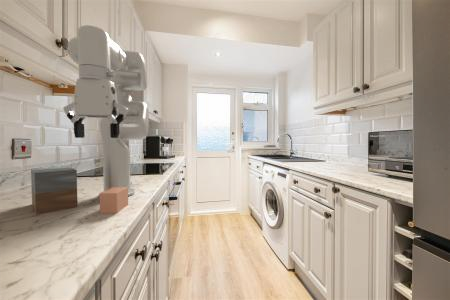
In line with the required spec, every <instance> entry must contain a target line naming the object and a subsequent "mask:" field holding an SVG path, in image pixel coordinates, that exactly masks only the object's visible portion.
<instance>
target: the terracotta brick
mask: <svg viewBox="0 0 450 300" xmlns="http://www.w3.org/2000/svg"><path fill="white" fill-rule="evenodd" d="M103 191H104V190H103ZM103 191H101V192H102V193H101V192H99V193H98V195H99V194H100V197H99V214H118V213H119V212H121V211H122V210H124V209H125V208H126V207H127V206H129V196H128V187H116V188H110V189H108V190H106V191H104V192H103Z"/></svg>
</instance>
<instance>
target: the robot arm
mask: <svg viewBox="0 0 450 300" xmlns="http://www.w3.org/2000/svg"><path fill="white" fill-rule="evenodd" d="M76 33H77V37H75V36H74V37H72V38H71V39H69V41H68V44H67V50H68V51H67V52H68V54H69V56H70V58H71V60H72V61H73V62H74V63H75V64H76V65H78V78H77V79H76V80H75V81H76V83H75V86H74V96H73V97H74V98H73V99H74V100H73V102H71V103H69V104H66V105H65V106H63V111H64V113H65V115H66V117H67V118H68V119H69V120H70V122H71V123H72V124H73V135H74V138H75V139H77V138H79V139H80V138H81V139H82V138H83V139H85V136H86V135H85V124H84V123H83V122H84V120H86V119H87V118H99V119H100V121H99V131H100V132H99V133H100V136H101V144H102V168H103V170H102V173H103V176H102V179H103V181H102V182H103V191H101V192H100V193H102V192H104V191H106V190H108V189H110V188H116V187H128V197H129V196H133V195H134V194H135V189H132V188H131V185H132V182H133V181H131V159H130V158H131V152H130V148H129V147H128V146H127V144H126V143H125V142H124V141H126V140H129V141H130V140H131V141H132V140H133V141H134V140H135V141H136V140H144V139H146V138H147V137H148V134H149V123H150V122H149V120H150V119H149V118H150V112H149V111H150V110H149V106H148V104H147V103H145V102H144V101H139V100H133V98H132V96H131V94H129V92H127V91H126V90H128V91H145V90H147V88H148V76H147V67H146V61H145V59H144V57H143V55H142V54H141V53H140V52H138V51H129V50H122V49H121V47H120V46H119V45H118V44H117V43H116V42H115V41H113V40H112V39H111V38H110V36H109V34H108V33H107V31H105V30H104V29H102V28H101V27H98V26H94V25H88V24H86V25H85V24H84V25H80V27H78V29H77V32H76ZM73 111H74V112H73ZM98 197H99V198H100V194H99V193H98Z"/></svg>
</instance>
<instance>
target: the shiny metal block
mask: <svg viewBox="0 0 450 300" xmlns="http://www.w3.org/2000/svg"><path fill="white" fill-rule="evenodd" d="M77 170H78V169H75V168H73V167H71V166H53V167H40V168H39V167H38V168H31V169H30V177H31V178H30V179H31V181H30V182H31V205H32V207H33V211H34V213H35V215H40V214H45V213H51V212H57V211H61V210H66V209H73V208H78V207H79V206H78V179H77V178H78V173H77V172H78V171H77Z"/></svg>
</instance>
